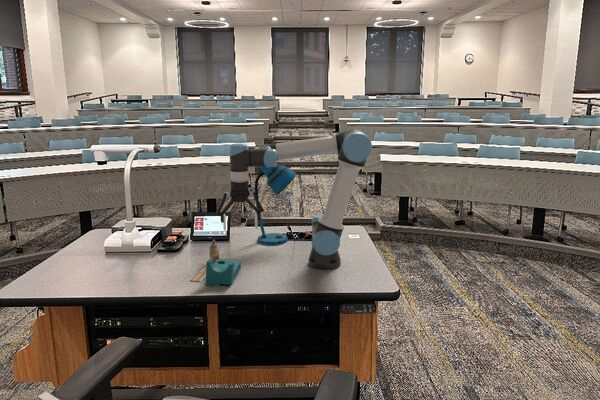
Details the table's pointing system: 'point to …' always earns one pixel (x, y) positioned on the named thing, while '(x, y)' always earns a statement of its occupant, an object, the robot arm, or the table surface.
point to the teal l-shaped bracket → (221, 271)
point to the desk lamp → (278, 182)
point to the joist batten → (200, 276)
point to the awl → (214, 251)
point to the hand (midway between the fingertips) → (240, 228)
